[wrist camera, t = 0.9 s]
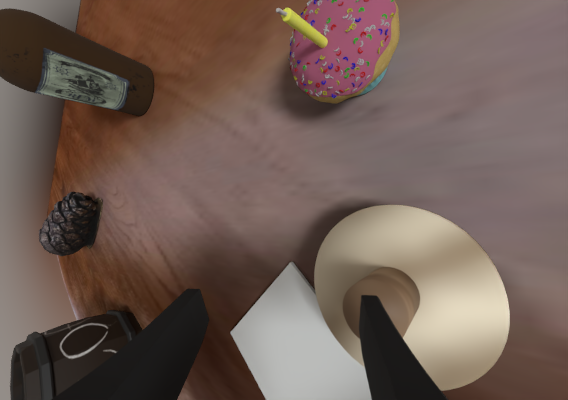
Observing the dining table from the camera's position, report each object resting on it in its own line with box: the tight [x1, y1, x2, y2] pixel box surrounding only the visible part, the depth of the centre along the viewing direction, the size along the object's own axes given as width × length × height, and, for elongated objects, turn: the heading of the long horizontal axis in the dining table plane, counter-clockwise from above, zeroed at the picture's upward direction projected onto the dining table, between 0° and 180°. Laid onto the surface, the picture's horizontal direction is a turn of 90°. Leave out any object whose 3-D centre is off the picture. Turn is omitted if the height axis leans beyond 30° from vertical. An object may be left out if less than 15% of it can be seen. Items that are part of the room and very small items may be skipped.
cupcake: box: [276, 0, 399, 103], centre depth 18 cm, size 9×8×12 cm
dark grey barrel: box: [10, 310, 142, 400], centre depth 44 cm, size 18×18×16 cm
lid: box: [314, 205, 510, 391], centre depth 16 cm, size 12×12×5 cm
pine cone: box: [39, 192, 103, 256], centre depth 61 cm, size 10×18×10 cm, turn 149°
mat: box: [230, 262, 372, 400], centre depth 26 cm, size 17×14×1 cm
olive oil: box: [0, 9, 154, 116], centre depth 39 cm, size 11×11×25 cm
